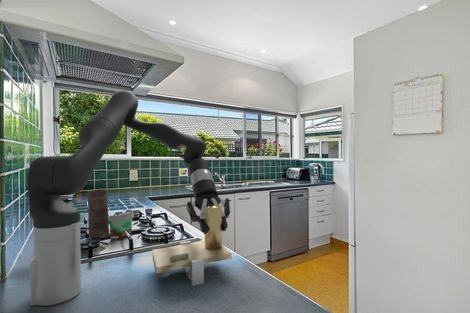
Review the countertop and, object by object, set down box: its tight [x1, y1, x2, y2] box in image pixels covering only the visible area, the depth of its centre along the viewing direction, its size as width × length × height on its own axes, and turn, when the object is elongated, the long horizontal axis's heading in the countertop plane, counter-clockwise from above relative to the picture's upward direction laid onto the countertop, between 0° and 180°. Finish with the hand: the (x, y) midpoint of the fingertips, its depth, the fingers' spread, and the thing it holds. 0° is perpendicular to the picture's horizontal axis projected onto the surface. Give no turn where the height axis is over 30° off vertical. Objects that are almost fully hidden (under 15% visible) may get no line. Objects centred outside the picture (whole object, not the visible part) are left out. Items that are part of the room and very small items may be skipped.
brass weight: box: [204, 204, 223, 250], centre depth 76 cm, size 5×5×12 cm
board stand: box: [179, 240, 205, 287], centre depth 73 cm, size 3×17×6 cm, turn 22°
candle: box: [87, 188, 110, 239], centre depth 105 cm, size 8×7×20 cm
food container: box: [108, 209, 135, 241], centre depth 105 cm, size 12×6×10 cm, turn 168°
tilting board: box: [151, 240, 233, 279], centre depth 73 cm, size 20×13×4 cm, turn 112°
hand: (215, 231), depth 74 cm, fingers closed on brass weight, 5 cm apart
